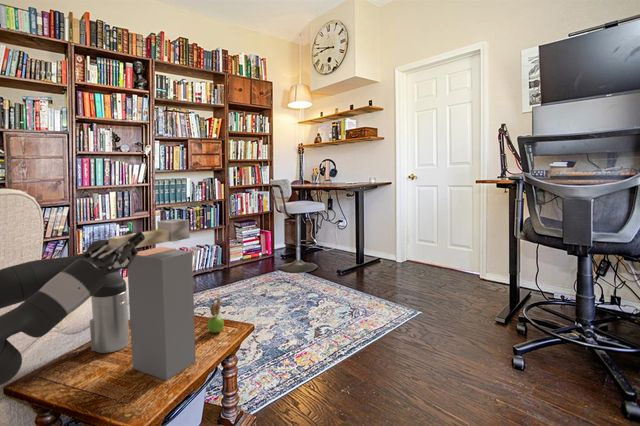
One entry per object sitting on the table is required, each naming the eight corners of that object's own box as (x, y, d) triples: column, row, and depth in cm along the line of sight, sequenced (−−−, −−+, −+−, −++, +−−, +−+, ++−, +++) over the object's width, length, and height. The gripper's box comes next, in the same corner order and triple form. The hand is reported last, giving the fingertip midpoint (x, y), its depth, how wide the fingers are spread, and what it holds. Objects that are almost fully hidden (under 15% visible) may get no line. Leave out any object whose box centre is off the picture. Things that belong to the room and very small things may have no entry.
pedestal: (167, 380, 89) (161, 258, 86) (132, 368, 95) (126, 253, 91) (195, 361, 98) (192, 250, 95) (163, 351, 104) (158, 246, 100)
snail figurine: (227, 327, 121) (226, 294, 119) (220, 336, 114) (219, 301, 113) (212, 326, 121) (211, 293, 120) (204, 335, 115) (203, 300, 114)
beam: (120, 252, 76) (119, 230, 76) (106, 250, 78) (105, 228, 78) (189, 238, 94) (189, 220, 94) (176, 236, 97) (175, 218, 96)
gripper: (84, 278, 65) (150, 223, 78) (41, 269, 71) (109, 219, 84) (105, 304, 69) (165, 248, 82) (63, 294, 75) (125, 243, 88)
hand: (136, 234), depth 83 cm, fingers closed on beam, 3 cm apart
